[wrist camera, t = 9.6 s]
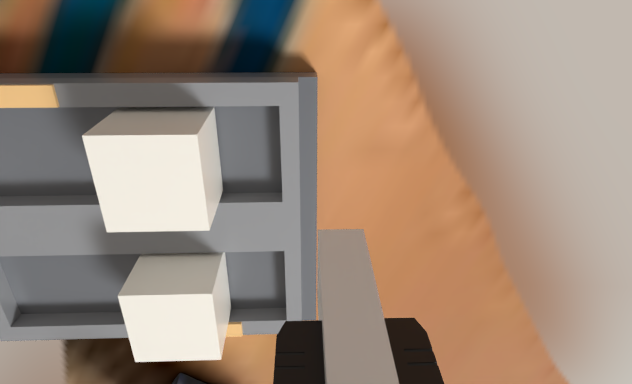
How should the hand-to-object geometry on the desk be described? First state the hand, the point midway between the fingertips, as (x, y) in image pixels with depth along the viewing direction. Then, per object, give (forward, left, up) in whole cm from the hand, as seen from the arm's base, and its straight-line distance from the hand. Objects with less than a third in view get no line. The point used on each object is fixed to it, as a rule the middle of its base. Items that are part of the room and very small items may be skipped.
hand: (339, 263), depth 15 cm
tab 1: (-8, 0, -11) cm, 14 cm away
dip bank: (-11, -5, -12) cm, 17 cm away
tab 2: (-9, -9, -11) cm, 17 cm away
